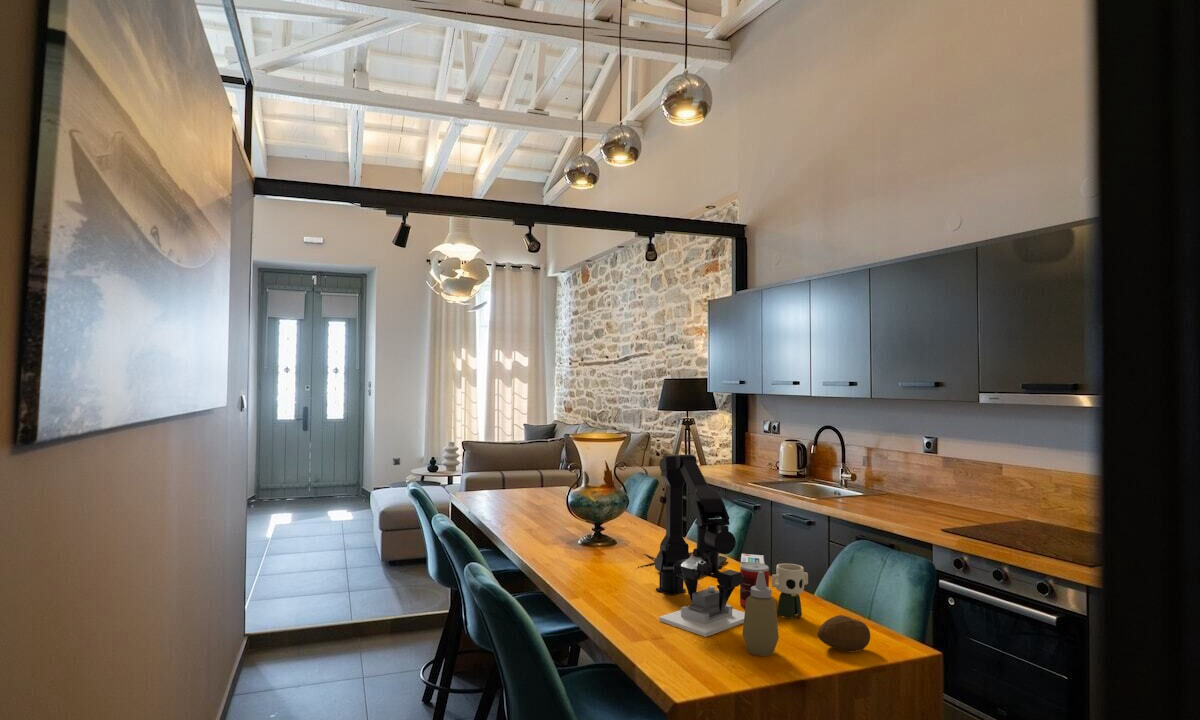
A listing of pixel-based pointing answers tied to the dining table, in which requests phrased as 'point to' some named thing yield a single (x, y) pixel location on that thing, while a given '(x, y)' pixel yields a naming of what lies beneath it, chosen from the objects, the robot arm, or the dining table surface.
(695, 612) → the plate
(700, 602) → the block
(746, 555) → the light bulb box
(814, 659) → the dining table surface
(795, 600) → the character mug
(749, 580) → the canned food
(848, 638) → the potato
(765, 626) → the squeeze bottle
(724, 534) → the robot arm
